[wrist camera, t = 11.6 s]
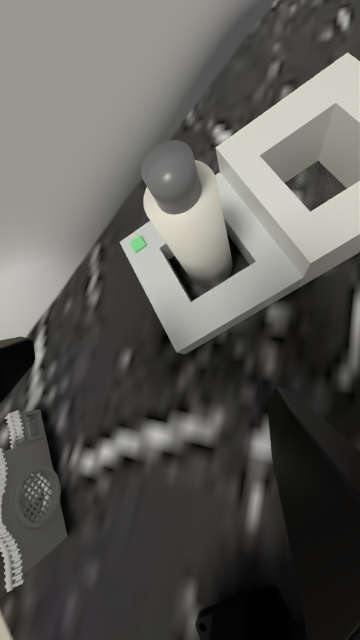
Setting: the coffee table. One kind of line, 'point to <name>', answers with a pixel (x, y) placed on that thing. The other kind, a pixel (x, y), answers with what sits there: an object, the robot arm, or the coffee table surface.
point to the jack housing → (268, 210)
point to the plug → (187, 212)
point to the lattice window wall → (4, 498)
